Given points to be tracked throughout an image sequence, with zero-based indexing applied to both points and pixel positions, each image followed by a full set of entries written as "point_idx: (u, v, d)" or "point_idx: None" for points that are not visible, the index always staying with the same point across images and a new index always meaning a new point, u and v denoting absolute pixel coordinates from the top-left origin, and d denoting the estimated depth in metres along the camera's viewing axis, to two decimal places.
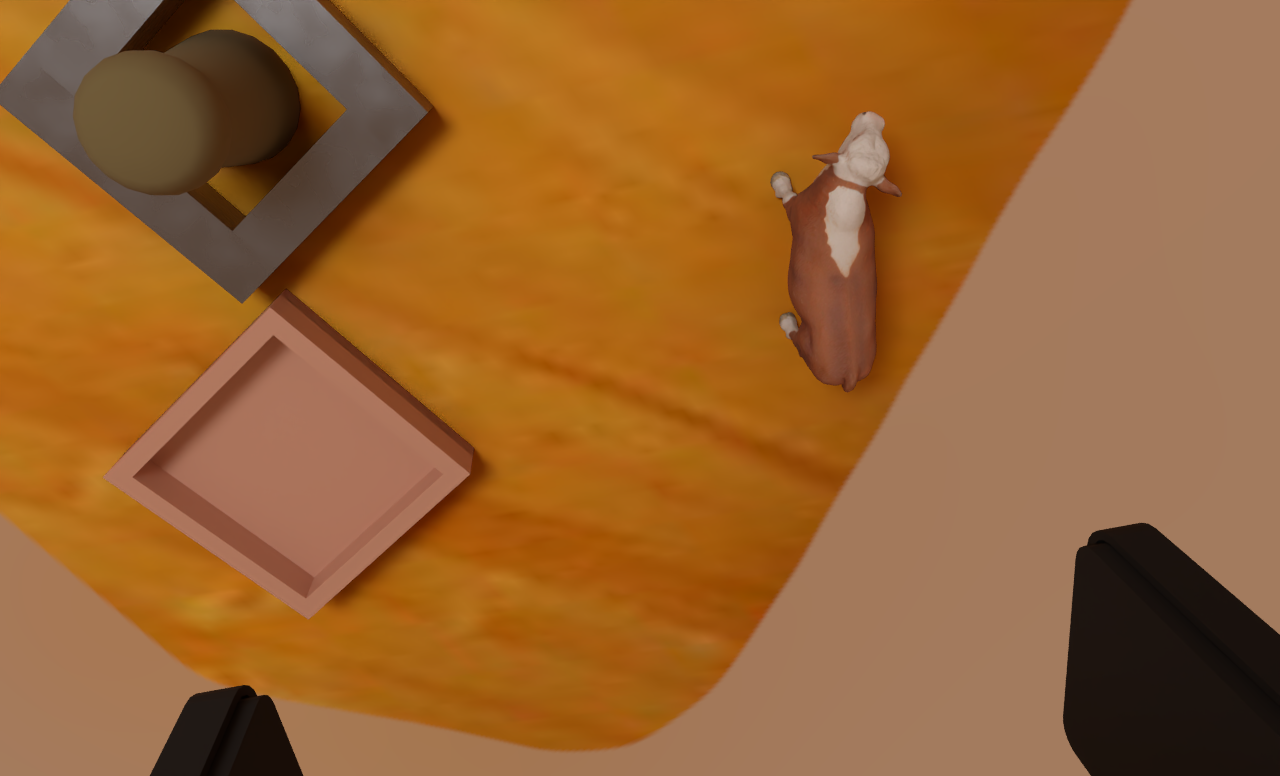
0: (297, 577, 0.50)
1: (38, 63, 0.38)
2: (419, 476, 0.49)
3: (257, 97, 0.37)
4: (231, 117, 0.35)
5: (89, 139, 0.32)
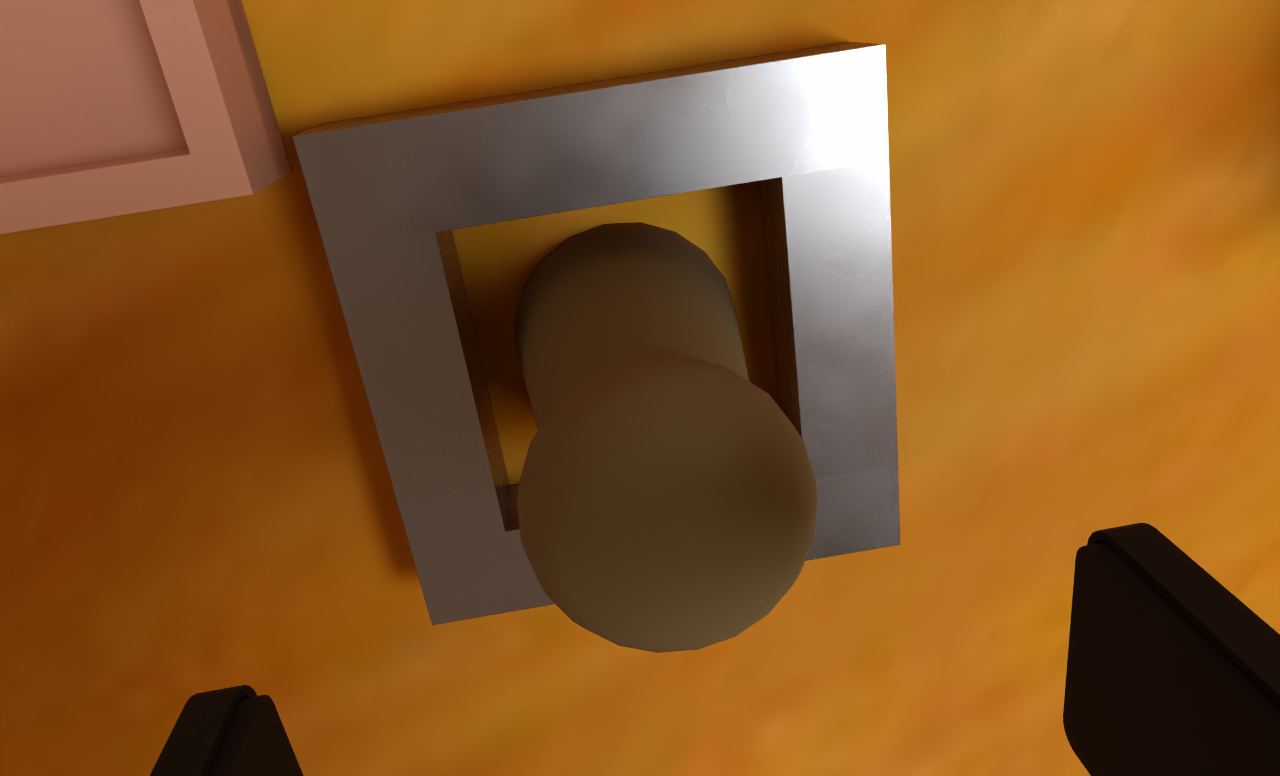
0: None
1: (864, 167, 0.20)
2: None
3: None
4: None
5: (727, 460, 0.14)
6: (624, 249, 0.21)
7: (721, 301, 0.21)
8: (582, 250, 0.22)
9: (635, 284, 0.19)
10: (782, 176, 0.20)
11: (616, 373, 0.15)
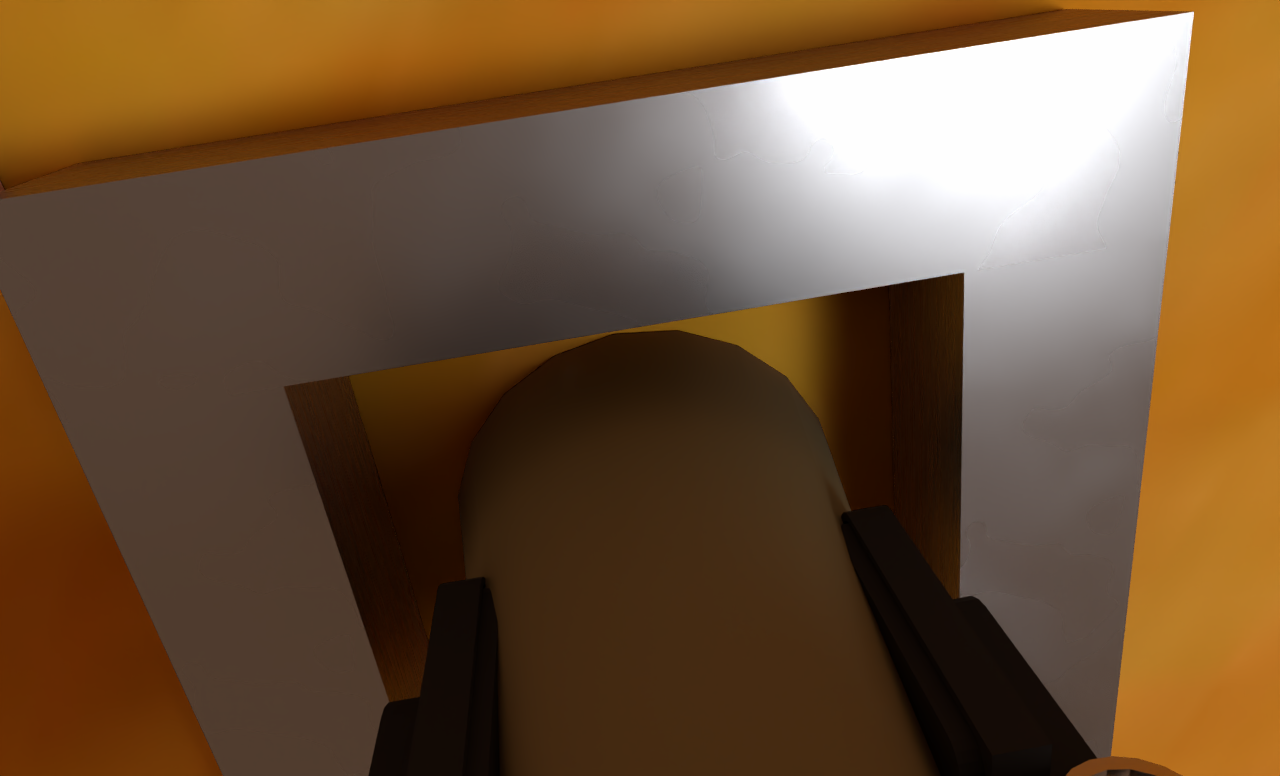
0: None
1: (1121, 252, 0.11)
2: None
3: None
4: None
5: None
6: (654, 399, 0.11)
7: (837, 498, 0.11)
8: (576, 392, 0.12)
9: (685, 502, 0.10)
10: (964, 271, 0.10)
11: None
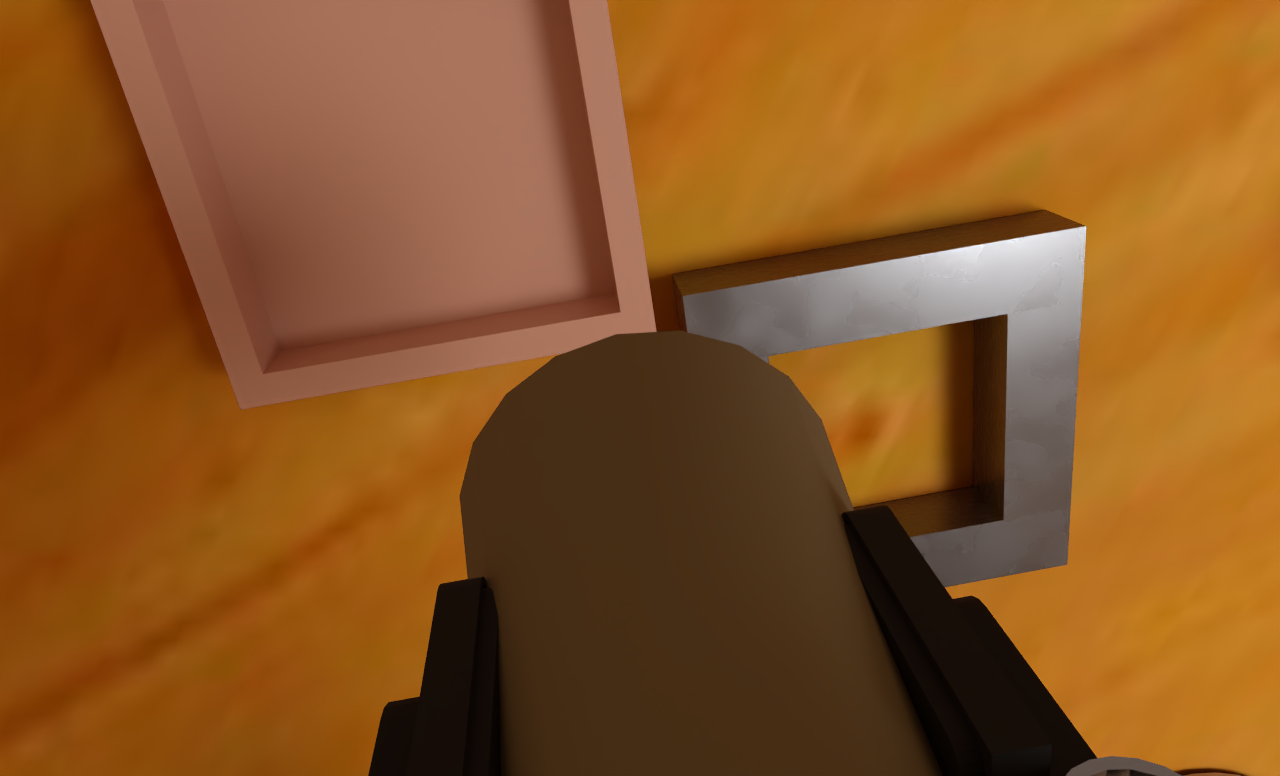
0: None
1: (1065, 305, 0.29)
2: (268, 293, 0.28)
3: None
4: None
5: None
6: (656, 399, 0.11)
7: (840, 499, 0.11)
8: (577, 392, 0.12)
9: (688, 502, 0.10)
10: (1008, 313, 0.29)
11: None
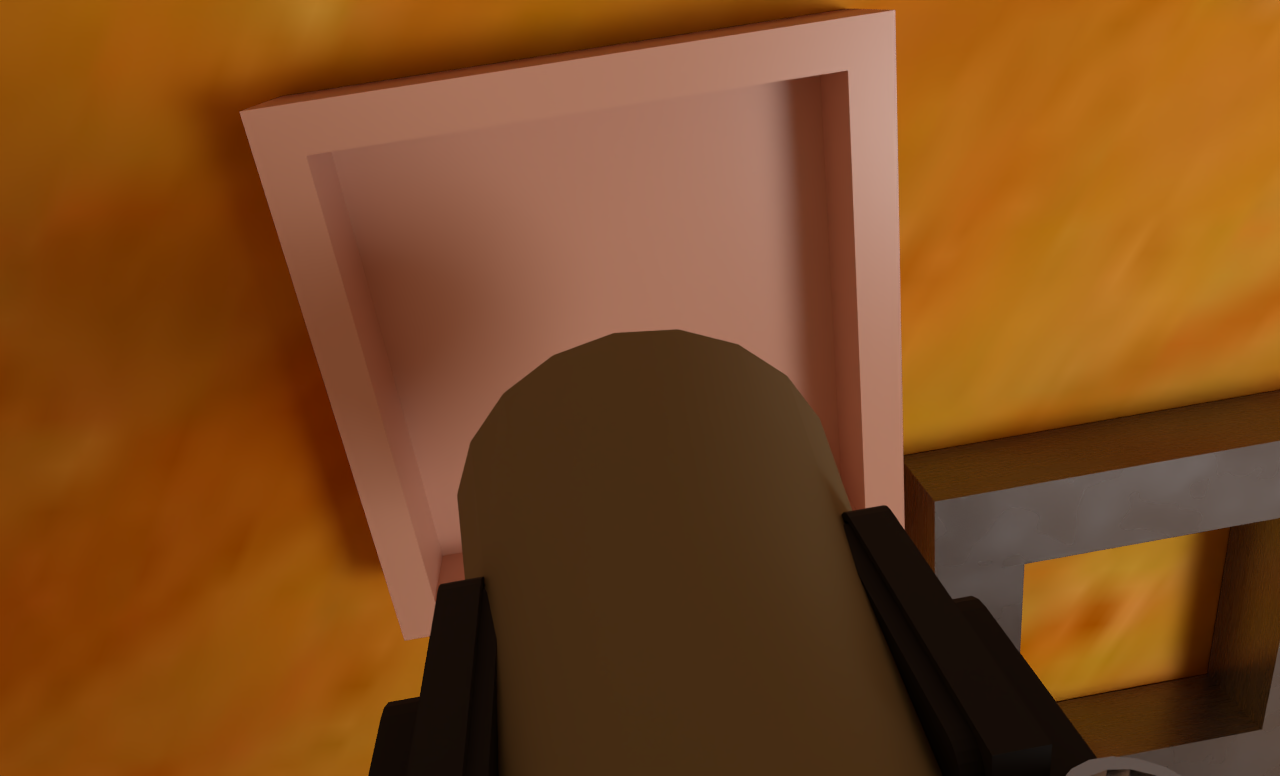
0: None
1: None
2: (433, 493, 0.23)
3: None
4: None
5: None
6: (654, 398, 0.11)
7: (838, 498, 0.11)
8: (575, 391, 0.12)
9: (685, 501, 0.10)
10: None
11: None
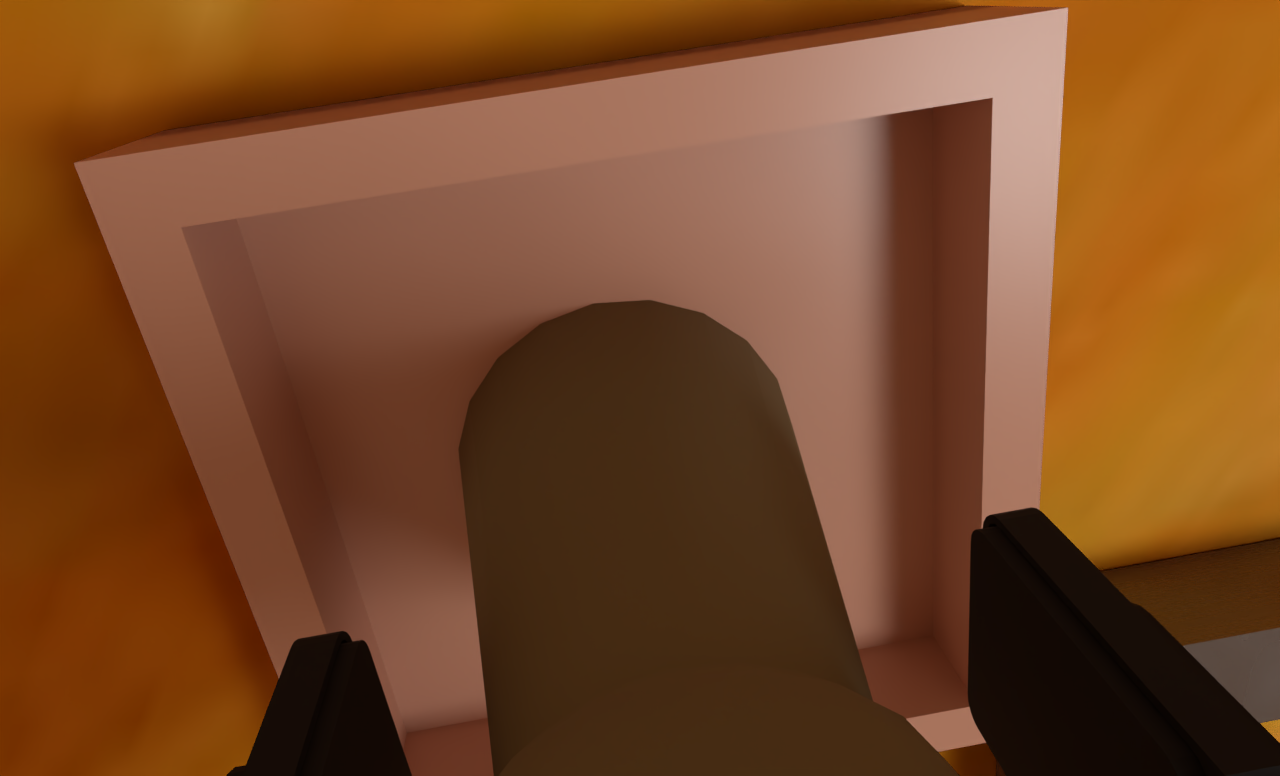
0: None
1: None
2: (392, 657, 0.17)
3: None
4: None
5: None
6: (626, 355, 0.13)
7: (784, 439, 0.13)
8: (559, 351, 0.14)
9: (647, 436, 0.11)
10: None
11: (626, 753, 0.07)
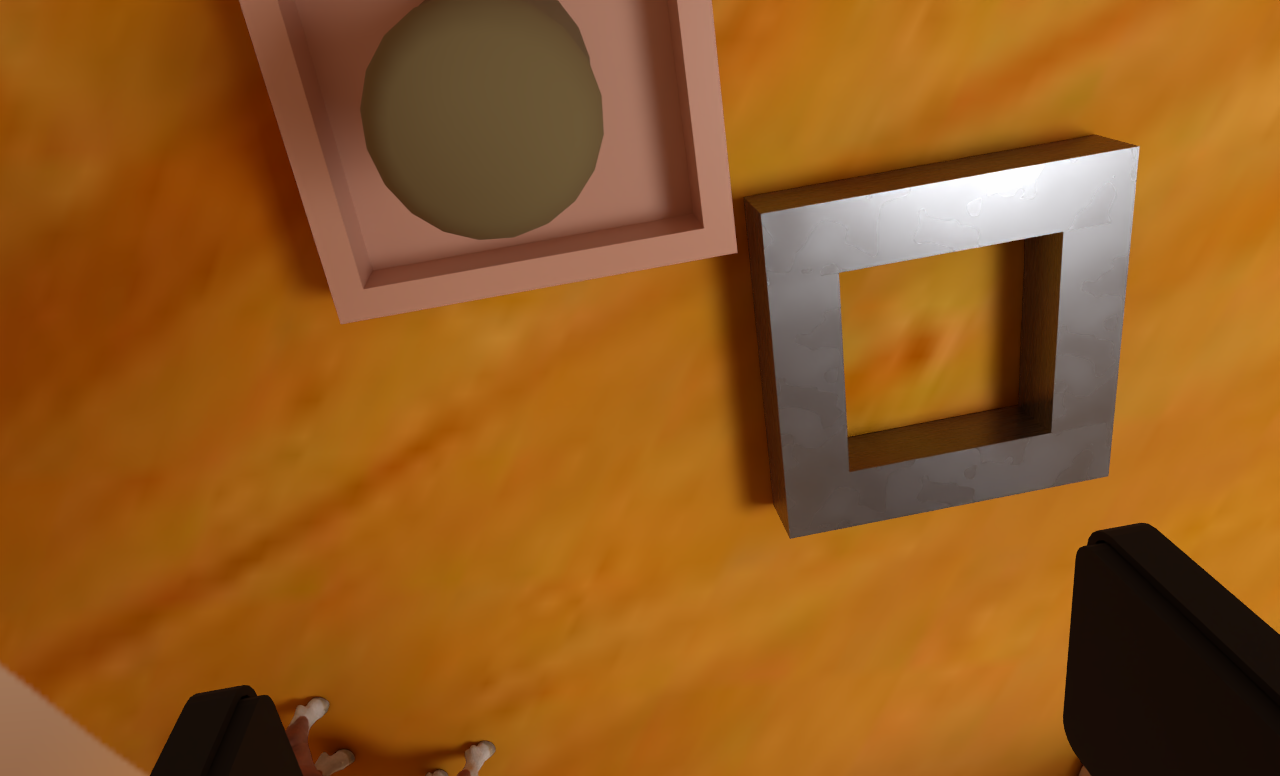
0: None
1: (1116, 224, 0.31)
2: (362, 213, 0.29)
3: None
4: None
5: (512, 46, 0.17)
6: None
7: (562, 23, 0.25)
8: None
9: None
10: (1063, 231, 0.31)
11: None
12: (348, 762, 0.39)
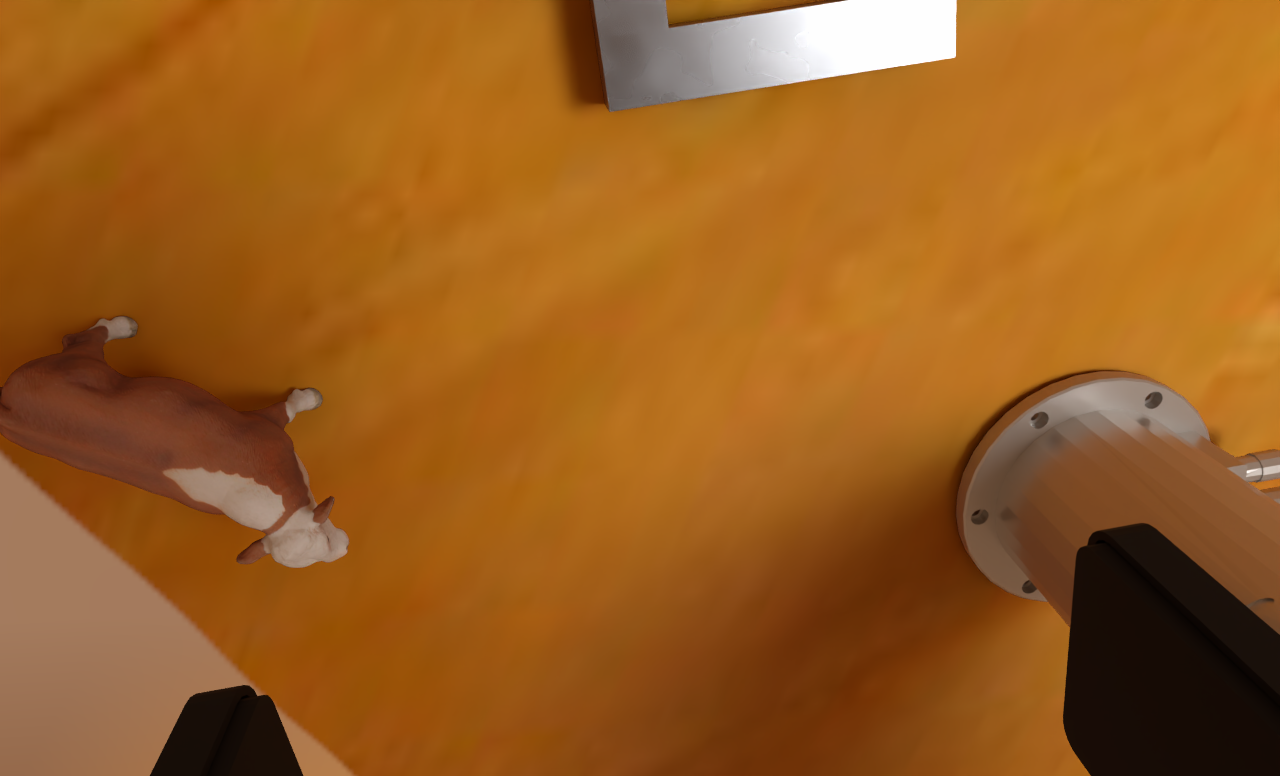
0: None
1: None
2: None
3: None
4: None
5: None
6: None
7: None
8: None
9: None
10: None
11: None
12: None
